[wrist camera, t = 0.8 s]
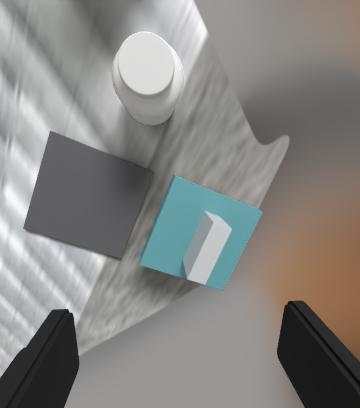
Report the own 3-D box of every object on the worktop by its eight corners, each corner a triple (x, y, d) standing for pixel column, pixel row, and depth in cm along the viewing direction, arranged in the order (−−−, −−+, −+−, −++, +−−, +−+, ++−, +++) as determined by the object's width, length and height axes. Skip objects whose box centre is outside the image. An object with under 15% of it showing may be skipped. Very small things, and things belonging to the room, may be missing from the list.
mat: (121, 256, 40) (120, 258, 39) (26, 226, 36) (23, 228, 36) (153, 172, 37) (153, 172, 36) (52, 131, 33) (50, 131, 33)
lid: (217, 279, 36) (233, 314, 28) (140, 254, 34) (135, 286, 26) (253, 206, 34) (282, 223, 26) (173, 174, 31) (179, 181, 23)
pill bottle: (135, 133, 35) (120, 120, 20) (118, 80, 33) (87, 24, 18) (181, 118, 35) (199, 95, 20) (167, 65, 33) (175, -2, 18)
